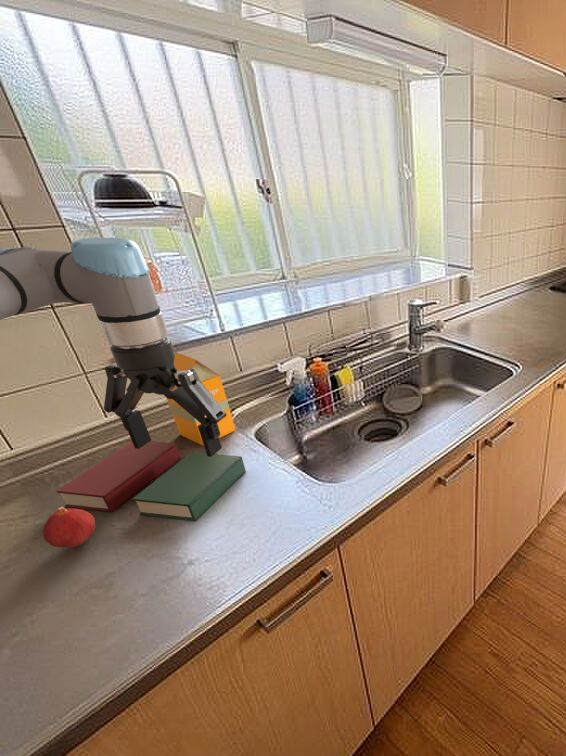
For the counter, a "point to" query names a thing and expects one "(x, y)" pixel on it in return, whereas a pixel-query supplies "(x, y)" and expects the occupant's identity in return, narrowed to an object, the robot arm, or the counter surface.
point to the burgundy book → (119, 476)
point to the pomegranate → (68, 527)
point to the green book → (190, 486)
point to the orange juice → (214, 385)
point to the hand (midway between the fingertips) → (179, 448)
